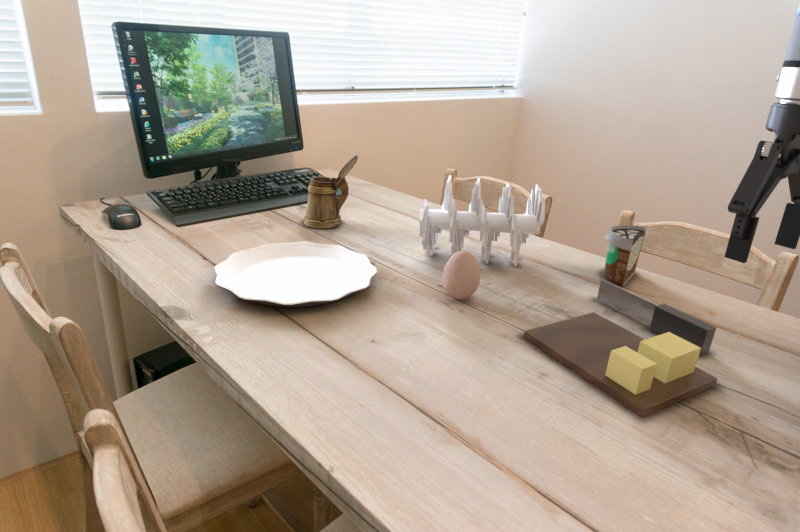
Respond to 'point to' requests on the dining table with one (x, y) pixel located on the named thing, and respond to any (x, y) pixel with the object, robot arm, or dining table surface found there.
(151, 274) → the dining table surface
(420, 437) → the dining table surface
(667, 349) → the butter bar
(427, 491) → the dining table surface
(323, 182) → the wooden mug
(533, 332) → the cutting board
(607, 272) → the food container
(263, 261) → the plate
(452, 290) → the egg
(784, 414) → the dining table surface
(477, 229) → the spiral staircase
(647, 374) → the butter slice
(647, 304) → the knife
